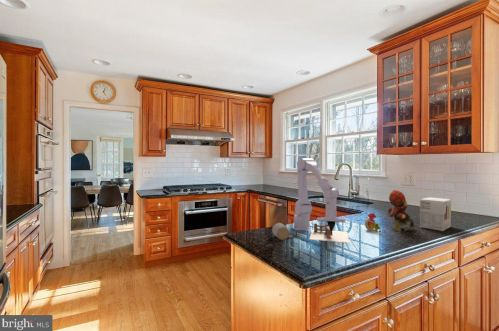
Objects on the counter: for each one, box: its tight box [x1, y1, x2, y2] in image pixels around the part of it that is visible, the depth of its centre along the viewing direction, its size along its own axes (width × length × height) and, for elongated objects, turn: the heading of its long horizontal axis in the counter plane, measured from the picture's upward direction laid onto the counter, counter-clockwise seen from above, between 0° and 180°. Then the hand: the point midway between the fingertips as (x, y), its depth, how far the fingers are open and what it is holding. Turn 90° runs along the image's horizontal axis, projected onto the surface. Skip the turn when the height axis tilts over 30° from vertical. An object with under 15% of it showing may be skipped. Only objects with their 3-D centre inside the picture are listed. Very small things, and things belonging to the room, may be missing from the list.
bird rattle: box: [364, 212, 382, 232], centre depth 163 cm, size 6×11×9 cm
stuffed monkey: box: [387, 189, 421, 233], centre depth 167 cm, size 15×17×25 cm
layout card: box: [309, 228, 350, 243], centre depth 151 cm, size 20×22×1 cm
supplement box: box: [419, 196, 452, 232], centre depth 172 cm, size 17×13×18 cm
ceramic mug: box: [272, 222, 294, 241], centre depth 147 cm, size 11×8×8 cm
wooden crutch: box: [326, 226, 331, 238], centre depth 149 cm, size 11×2×4 cm, turn 170°
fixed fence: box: [313, 223, 329, 233], centre depth 157 cm, size 8×2×5 cm, turn 72°
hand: (331, 235), depth 147 cm, fingers closed
